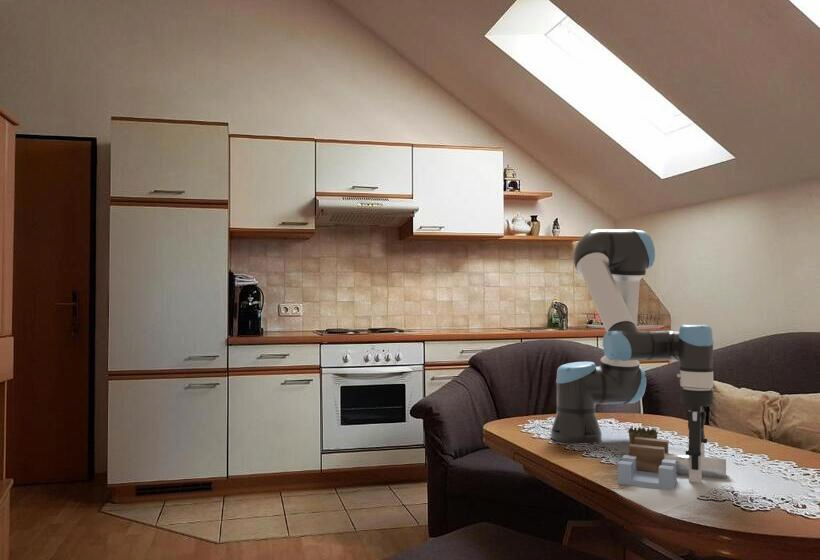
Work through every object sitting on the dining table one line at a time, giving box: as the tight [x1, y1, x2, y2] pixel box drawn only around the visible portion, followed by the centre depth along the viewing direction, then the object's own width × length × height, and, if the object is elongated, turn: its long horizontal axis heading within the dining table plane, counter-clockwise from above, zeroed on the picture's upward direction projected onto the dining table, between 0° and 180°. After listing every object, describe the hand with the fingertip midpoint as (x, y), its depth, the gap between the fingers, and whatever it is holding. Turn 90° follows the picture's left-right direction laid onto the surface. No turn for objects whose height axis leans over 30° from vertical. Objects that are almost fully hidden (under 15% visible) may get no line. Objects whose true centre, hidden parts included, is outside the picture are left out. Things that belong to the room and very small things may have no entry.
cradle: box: [617, 454, 678, 491], centre depth 155 cm, size 9×12×5 cm
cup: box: [627, 426, 659, 445], centre depth 177 cm, size 8×7×8 cm
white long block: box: [665, 452, 727, 480], centre depth 162 cm, size 5×16×5 cm, turn 65°
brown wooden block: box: [628, 437, 669, 473], centre depth 166 cm, size 12×8×7 cm
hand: (697, 475), depth 161 cm, fingers open, 13 cm apart
